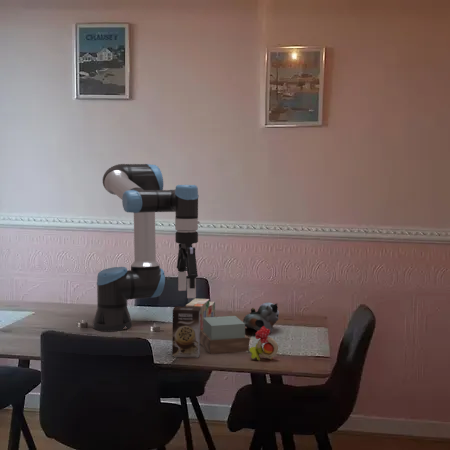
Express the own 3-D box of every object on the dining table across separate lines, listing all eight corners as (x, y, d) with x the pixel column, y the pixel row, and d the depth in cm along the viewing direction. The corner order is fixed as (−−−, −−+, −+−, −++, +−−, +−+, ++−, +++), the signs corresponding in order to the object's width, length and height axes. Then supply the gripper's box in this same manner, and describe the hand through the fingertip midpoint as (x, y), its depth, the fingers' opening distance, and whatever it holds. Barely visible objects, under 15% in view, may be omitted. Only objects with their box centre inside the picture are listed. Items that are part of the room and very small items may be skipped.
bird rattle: (272, 362, 205) (248, 350, 207) (285, 333, 204) (261, 321, 205) (269, 368, 199) (244, 355, 201) (283, 339, 197) (258, 326, 199)
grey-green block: (203, 331, 220) (203, 317, 219) (235, 329, 223) (235, 315, 222) (211, 340, 208) (211, 325, 208) (244, 337, 211) (245, 323, 211)
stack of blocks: (200, 323, 250) (200, 293, 249) (215, 324, 249) (215, 294, 248) (185, 336, 229) (185, 304, 228) (201, 337, 228) (201, 305, 227)
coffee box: (171, 357, 203) (171, 309, 202) (174, 351, 210) (174, 305, 208) (198, 358, 203) (199, 310, 202) (200, 352, 209) (200, 306, 208)
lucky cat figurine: (243, 326, 245) (259, 295, 247) (270, 340, 242) (285, 308, 244) (237, 324, 231) (254, 291, 232) (265, 339, 228) (282, 305, 229)
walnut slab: (199, 343, 221) (200, 330, 221) (236, 341, 225) (236, 327, 225) (210, 355, 208) (210, 340, 207) (248, 352, 212) (249, 337, 211)
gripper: (207, 234, 192) (207, 300, 193) (189, 227, 216) (189, 287, 217) (184, 234, 190) (184, 302, 191) (168, 228, 213) (168, 288, 215)
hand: (186, 294), depth 204 cm, fingers open, 13 cm apart
